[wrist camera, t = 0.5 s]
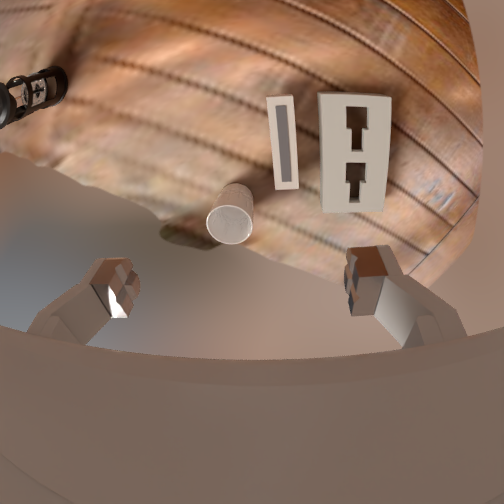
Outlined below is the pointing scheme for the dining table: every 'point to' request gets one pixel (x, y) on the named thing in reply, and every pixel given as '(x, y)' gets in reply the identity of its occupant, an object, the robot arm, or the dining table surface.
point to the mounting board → (353, 151)
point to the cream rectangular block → (283, 140)
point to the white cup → (232, 215)
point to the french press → (31, 94)
